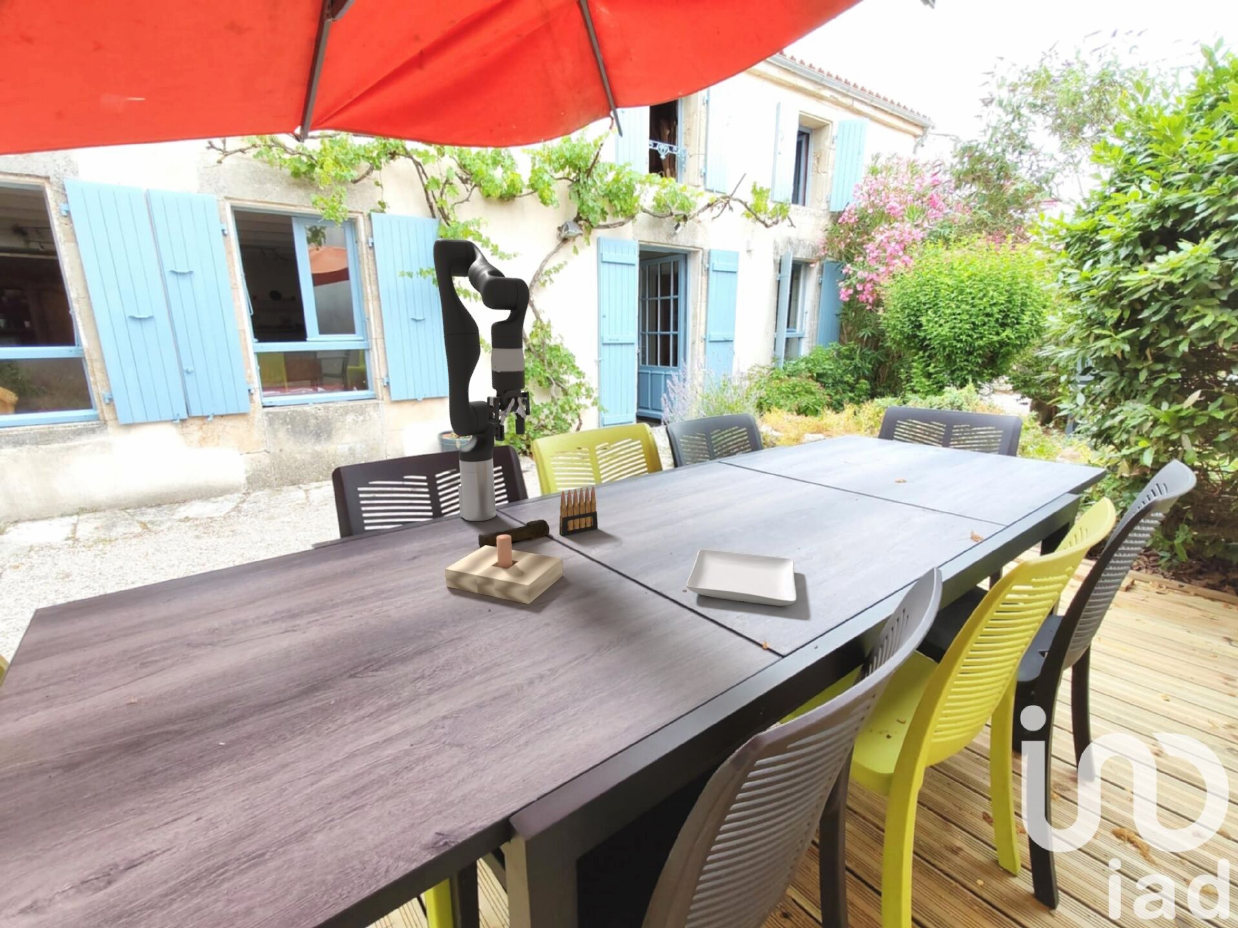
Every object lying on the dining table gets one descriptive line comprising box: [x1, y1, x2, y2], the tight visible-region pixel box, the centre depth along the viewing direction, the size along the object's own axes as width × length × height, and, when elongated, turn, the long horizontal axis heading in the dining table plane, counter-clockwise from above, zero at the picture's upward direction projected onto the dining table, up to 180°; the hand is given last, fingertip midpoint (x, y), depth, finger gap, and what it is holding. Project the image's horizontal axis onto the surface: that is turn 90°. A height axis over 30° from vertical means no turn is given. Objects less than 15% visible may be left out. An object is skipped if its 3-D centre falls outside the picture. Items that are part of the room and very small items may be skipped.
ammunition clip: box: [558, 485, 599, 537], centre depth 145 cm, size 11×2×12 cm, turn 121°
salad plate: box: [685, 548, 797, 607], centre depth 115 cm, size 21×21×3 cm
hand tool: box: [478, 519, 550, 549], centre depth 138 cm, size 19×4×5 cm, turn 123°
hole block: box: [444, 545, 564, 605], centre depth 116 cm, size 20×14×4 cm
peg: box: [496, 535, 513, 569], centre depth 116 cm, size 3×3×10 cm
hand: (510, 437), depth 130 cm, fingers open, 8 cm apart
